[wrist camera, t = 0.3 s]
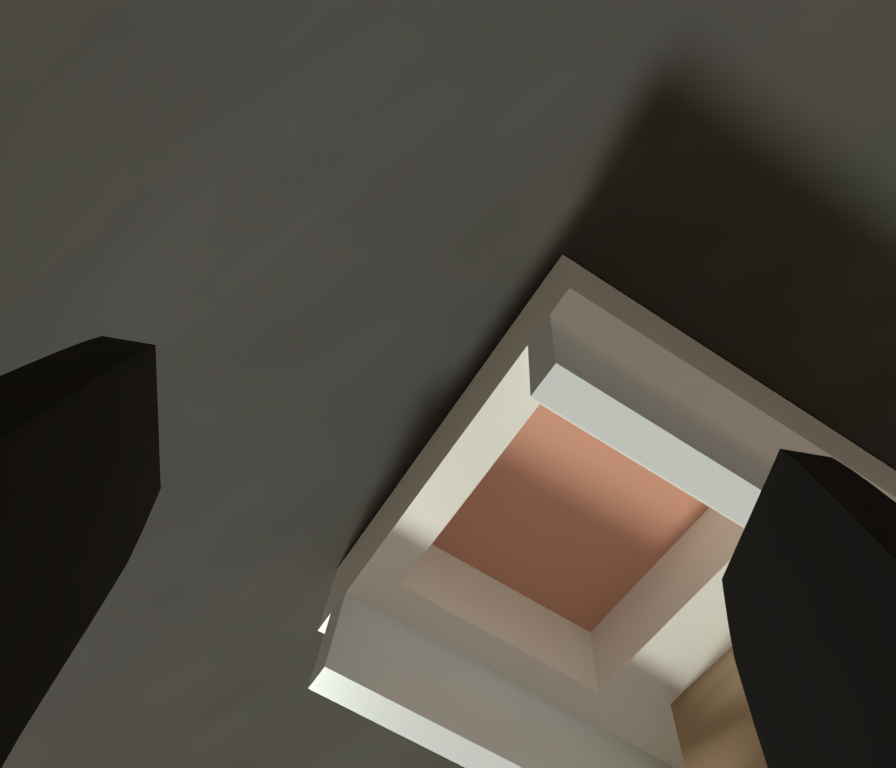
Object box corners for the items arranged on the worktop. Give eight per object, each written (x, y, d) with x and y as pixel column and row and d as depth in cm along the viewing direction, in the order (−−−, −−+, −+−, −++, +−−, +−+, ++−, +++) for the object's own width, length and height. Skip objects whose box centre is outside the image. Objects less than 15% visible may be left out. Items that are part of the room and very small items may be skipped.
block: (803, 777, 21) (872, 956, 17) (670, 704, 21) (709, 873, 17) (932, 675, 20) (1042, 847, 16) (791, 591, 19) (868, 749, 15)
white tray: (912, 878, 26) (996, 1056, 22) (337, 568, 23) (294, 707, 18) (1212, 676, 22) (1393, 846, 18) (562, 254, 18) (579, 332, 14)
